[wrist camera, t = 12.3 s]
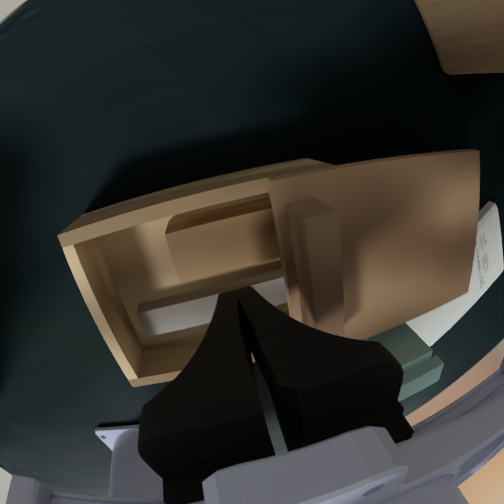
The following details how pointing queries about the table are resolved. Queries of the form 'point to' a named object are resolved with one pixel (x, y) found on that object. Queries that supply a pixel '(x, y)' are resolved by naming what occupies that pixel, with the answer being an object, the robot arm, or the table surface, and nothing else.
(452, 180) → the lid
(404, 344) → the teal stepped block
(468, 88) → the table surface
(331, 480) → the robot arm
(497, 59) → the wooden block
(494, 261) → the external hard drive
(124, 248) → the tan shallow box
